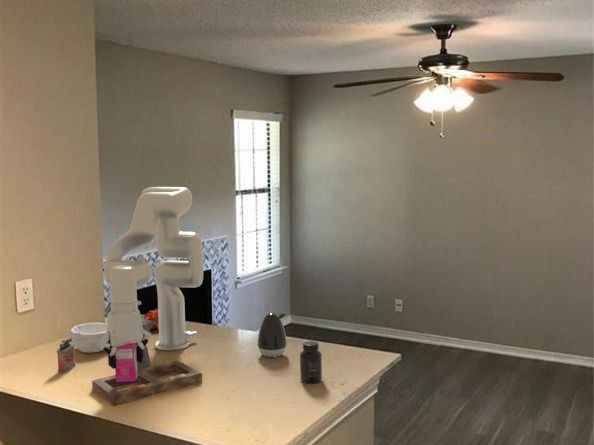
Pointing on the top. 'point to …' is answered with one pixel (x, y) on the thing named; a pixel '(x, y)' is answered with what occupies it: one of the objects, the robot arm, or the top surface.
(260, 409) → the top surface
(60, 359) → the lighter
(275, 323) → the dark grey tapered dome
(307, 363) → the supplement bottle
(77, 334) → the paper bowls
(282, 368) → the top surface
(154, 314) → the dragon fruit
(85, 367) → the top surface
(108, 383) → the wooden compartment tray
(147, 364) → the coffeepot
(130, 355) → the supplement box
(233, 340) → the top surface
